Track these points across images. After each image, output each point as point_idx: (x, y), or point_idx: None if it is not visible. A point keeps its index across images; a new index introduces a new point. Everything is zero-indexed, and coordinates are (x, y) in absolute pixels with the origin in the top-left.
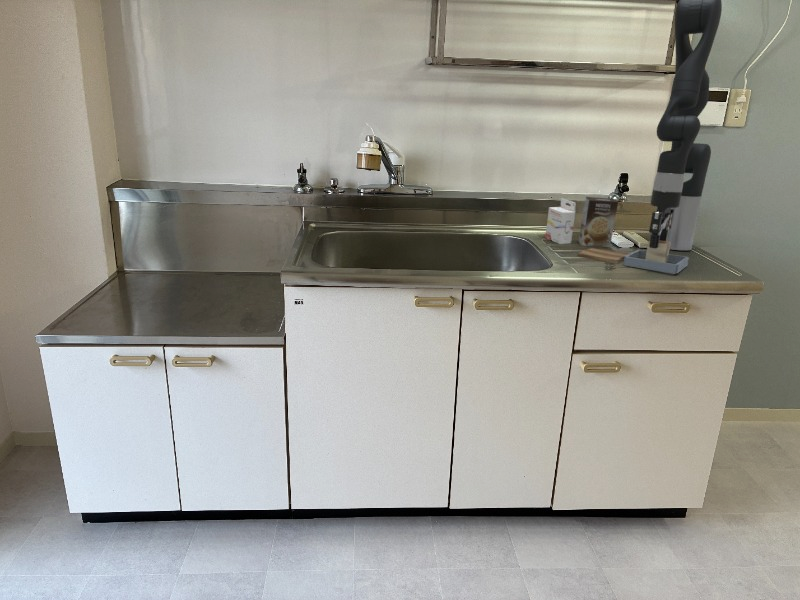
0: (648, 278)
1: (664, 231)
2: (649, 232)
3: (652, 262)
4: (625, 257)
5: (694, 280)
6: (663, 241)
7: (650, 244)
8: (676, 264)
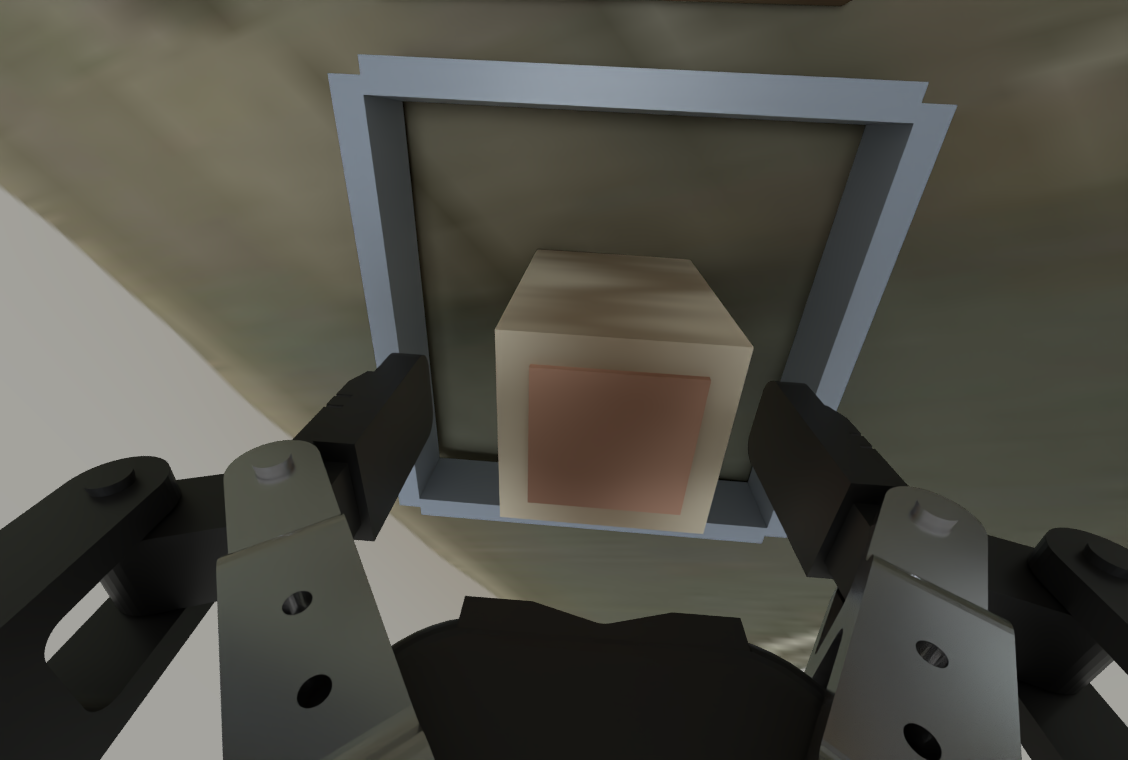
0: (243, 336)
1: (840, 555)
2: (127, 462)
3: (380, 353)
4: (332, 77)
5: (441, 531)
6: (640, 481)
7: (350, 380)
8: (419, 503)
